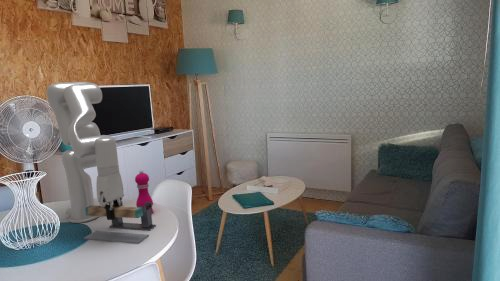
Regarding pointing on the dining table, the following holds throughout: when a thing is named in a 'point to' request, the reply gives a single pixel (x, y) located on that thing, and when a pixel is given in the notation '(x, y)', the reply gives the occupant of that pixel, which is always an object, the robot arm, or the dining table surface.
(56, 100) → the robot arm
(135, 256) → the dining table surface
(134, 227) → the bracket
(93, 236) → the mat
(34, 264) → the dining table surface
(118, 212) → the rail
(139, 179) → the pepper mill
